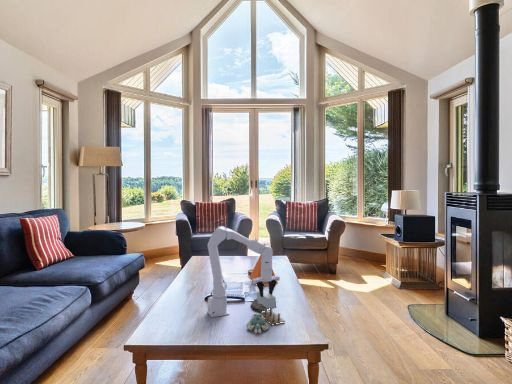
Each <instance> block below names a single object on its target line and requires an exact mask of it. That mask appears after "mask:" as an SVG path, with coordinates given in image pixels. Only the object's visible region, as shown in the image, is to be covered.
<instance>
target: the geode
mask: <svg viewBox="0 0 512 384" xmlns="http://www.w3.org/2000/svg"><path fill="white" fill-rule="evenodd" d="M253 300H254V301H252V300H251V301H252V302H253V303H252V302H251V304H250V308H251V307H252V310H253V311H254V310H255V311H254V312H256V311H259V312H258V313H260V312H262V311H265V308H266V307H265V306H264V305H262V304H261V303H260V302H258V301H257V298H255V299H253ZM268 309H269V308H268Z"/></svg>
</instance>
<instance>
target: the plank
mask: <svg viewBox="0 0 512 384" xmlns="http://www.w3.org/2000/svg"><path fill="white" fill-rule="evenodd" d="M256 299H257V301H258V302H260V303H261V304H262V305H264V306H265V307H266V308H267V309H268V308H272V309H275V308H277V307H276V302H277V300H276V299H277V298H276V296H275V295H273V293H272V294H270V293H269V291H267V290H266V289H263V297H261V296H260V292H259V290H257V291H256ZM274 307H275V308H274Z"/></svg>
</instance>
